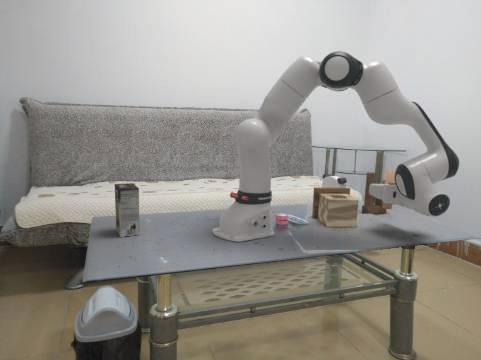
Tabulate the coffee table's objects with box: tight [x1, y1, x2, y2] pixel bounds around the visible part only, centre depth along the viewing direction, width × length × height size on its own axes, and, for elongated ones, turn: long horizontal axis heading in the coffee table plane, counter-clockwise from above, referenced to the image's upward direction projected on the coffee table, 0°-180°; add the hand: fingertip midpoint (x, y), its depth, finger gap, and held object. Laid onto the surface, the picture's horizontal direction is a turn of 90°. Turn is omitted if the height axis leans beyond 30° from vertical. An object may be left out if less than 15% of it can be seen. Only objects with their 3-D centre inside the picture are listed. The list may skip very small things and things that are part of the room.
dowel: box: [383, 169, 396, 210], centre depth 134 cm, size 3×3×14 cm
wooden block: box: [361, 171, 387, 215], centre depth 157 cm, size 4×11×18 cm, turn 114°
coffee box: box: [114, 183, 140, 238], centre depth 121 cm, size 9×6×16 cm
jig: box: [311, 187, 351, 219], centre depth 134 cm, size 23×16×13 cm
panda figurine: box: [321, 173, 348, 188], centre depth 163 cm, size 12×11×15 cm
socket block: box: [317, 193, 359, 228], centre depth 137 cm, size 11×11×10 cm
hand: (388, 186), depth 135 cm, fingers closed on dowel, 3 cm apart
